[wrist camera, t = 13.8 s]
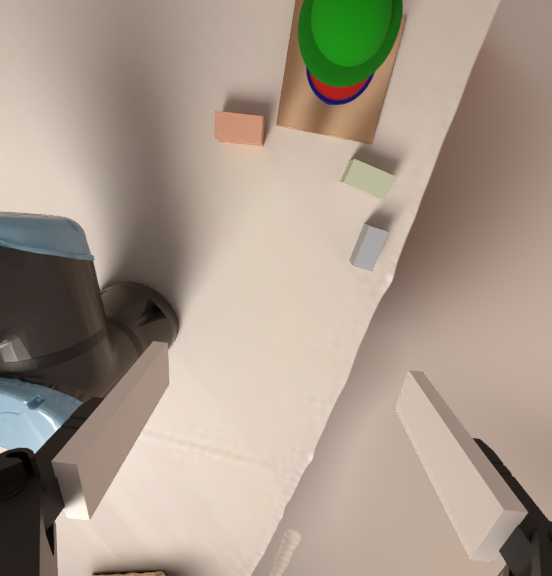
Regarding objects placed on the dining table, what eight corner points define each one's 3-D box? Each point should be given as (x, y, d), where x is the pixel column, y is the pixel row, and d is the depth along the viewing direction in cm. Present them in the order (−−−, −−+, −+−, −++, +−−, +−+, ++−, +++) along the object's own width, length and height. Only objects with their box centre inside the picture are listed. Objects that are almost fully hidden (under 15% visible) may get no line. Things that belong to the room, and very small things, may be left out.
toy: (335, 133, 35) (363, 98, 21) (282, 90, 34) (275, 21, 20) (382, 63, 32) (452, -32, 18) (326, 13, 31) (355, -132, 17)
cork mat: (276, 125, 36) (276, 124, 35) (296, -1, 31) (296, -4, 30) (370, 144, 36) (371, 143, 35) (404, 21, 31) (406, 18, 31)
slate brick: (366, 265, 42) (372, 271, 39) (348, 260, 42) (353, 265, 39) (382, 229, 40) (389, 232, 37) (363, 223, 40) (369, 226, 37)
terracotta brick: (220, 141, 37) (215, 137, 34) (221, 116, 36) (215, 110, 33) (263, 146, 37) (260, 143, 34) (265, 121, 36) (262, 116, 33)
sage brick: (339, 182, 38) (343, 181, 35) (349, 160, 37) (354, 158, 34) (377, 198, 38) (384, 199, 36) (387, 177, 37) (395, 176, 35)
